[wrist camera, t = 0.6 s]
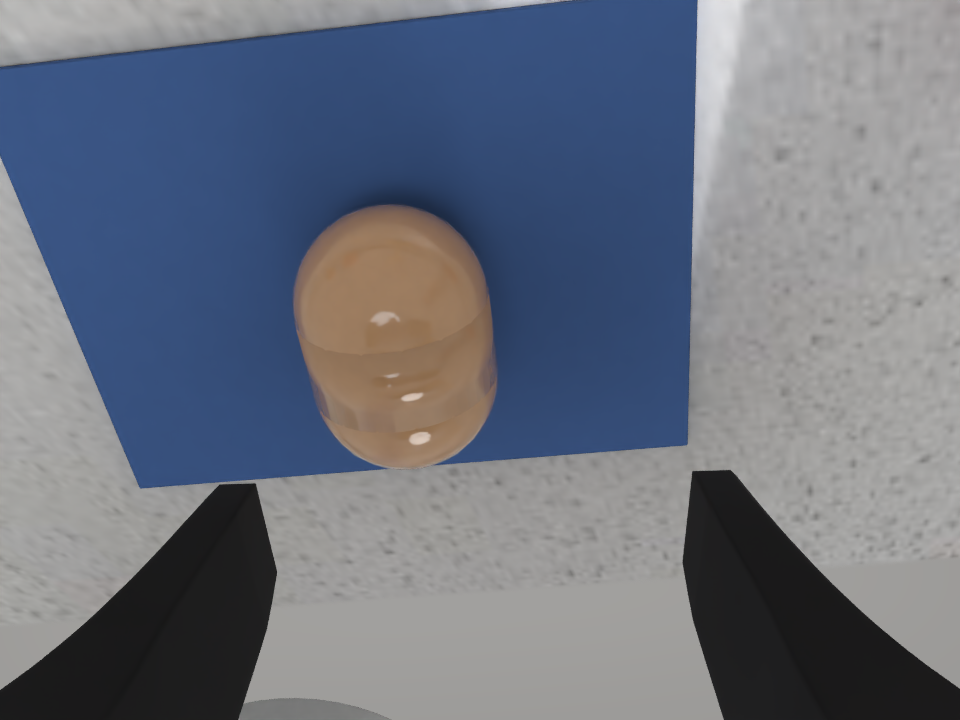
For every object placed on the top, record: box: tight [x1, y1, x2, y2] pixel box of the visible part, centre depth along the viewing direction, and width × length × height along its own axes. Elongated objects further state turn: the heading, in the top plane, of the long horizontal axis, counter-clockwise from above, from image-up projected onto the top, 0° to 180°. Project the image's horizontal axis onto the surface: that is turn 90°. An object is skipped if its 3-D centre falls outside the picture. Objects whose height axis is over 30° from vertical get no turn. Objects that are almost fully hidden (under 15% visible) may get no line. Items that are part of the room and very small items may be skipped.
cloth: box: [0, 0, 697, 488], centre depth 21 cm, size 16×12×1 cm
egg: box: [292, 204, 498, 469], centre depth 20 cm, size 6×4×4 cm
